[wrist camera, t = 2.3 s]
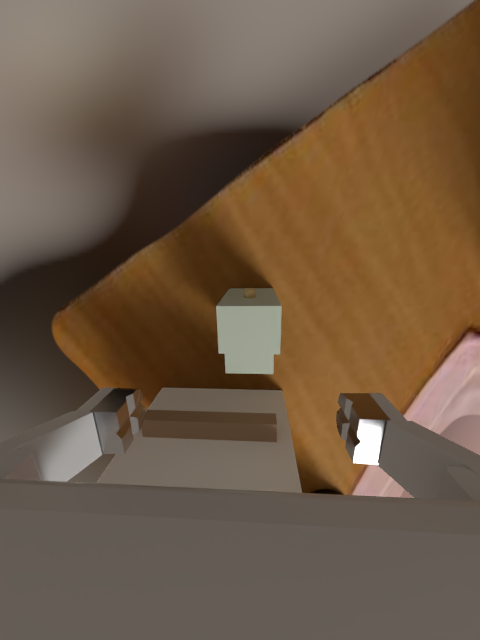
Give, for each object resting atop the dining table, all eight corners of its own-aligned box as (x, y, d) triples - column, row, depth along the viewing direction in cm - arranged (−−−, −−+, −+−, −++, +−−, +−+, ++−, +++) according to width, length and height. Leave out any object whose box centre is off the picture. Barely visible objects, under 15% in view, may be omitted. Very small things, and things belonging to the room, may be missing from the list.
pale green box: (273, 280, 26) (282, 295, 17) (272, 336, 28) (279, 374, 19) (229, 281, 26) (215, 295, 17) (230, 335, 28) (219, 373, 19)
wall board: (283, 376, 29) (313, 516, 14) (281, 425, 31) (305, 593, 16) (160, 374, 30) (61, 500, 15) (166, 421, 32) (85, 574, 17)
